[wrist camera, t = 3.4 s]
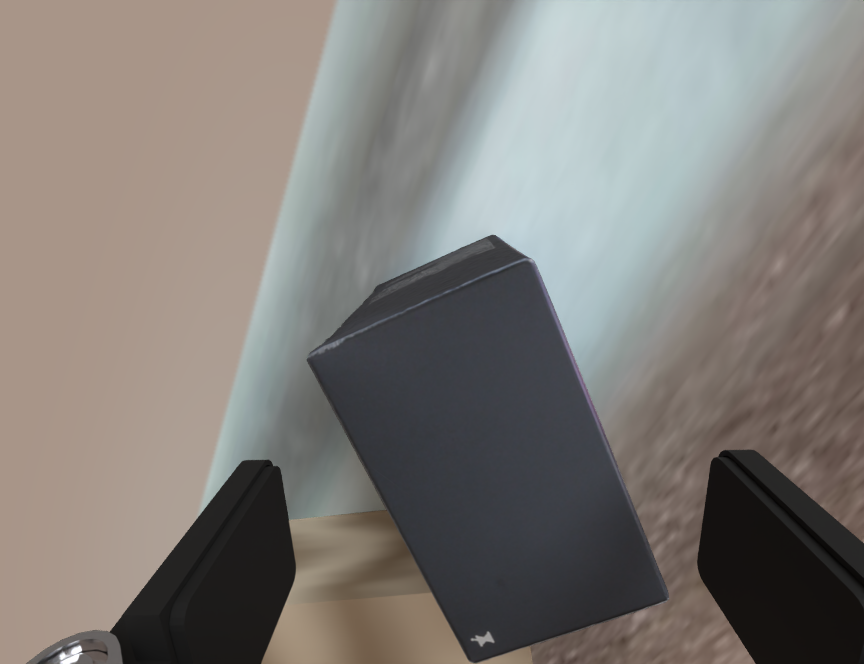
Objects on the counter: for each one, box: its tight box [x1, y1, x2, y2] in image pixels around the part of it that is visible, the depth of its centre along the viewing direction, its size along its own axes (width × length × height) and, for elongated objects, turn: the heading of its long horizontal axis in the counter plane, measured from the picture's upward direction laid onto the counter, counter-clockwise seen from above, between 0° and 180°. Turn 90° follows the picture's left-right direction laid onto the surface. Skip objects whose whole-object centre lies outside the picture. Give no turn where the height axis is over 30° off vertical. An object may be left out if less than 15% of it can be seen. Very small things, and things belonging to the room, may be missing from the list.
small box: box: [307, 235, 669, 664], centre depth 17 cm, size 11×6×10 cm, turn 25°
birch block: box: [261, 510, 532, 664], centre depth 24 cm, size 12×14×6 cm
